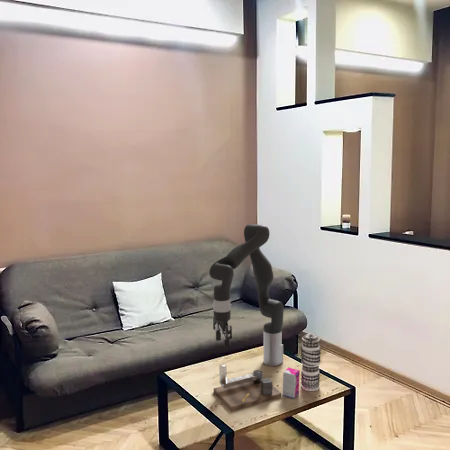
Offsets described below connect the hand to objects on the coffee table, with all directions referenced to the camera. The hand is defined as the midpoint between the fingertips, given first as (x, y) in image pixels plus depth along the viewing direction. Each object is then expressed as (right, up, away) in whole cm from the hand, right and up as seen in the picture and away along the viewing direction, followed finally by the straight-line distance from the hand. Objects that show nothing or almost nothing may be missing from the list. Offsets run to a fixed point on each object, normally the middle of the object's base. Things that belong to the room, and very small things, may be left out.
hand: (222, 343), depth 220 cm
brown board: (+11, -24, +4) cm, 27 cm away
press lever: (+9, -21, +8) cm, 24 cm away
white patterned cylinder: (+41, -23, +10) cm, 48 cm away
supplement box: (+31, -24, +3) cm, 39 cm away
